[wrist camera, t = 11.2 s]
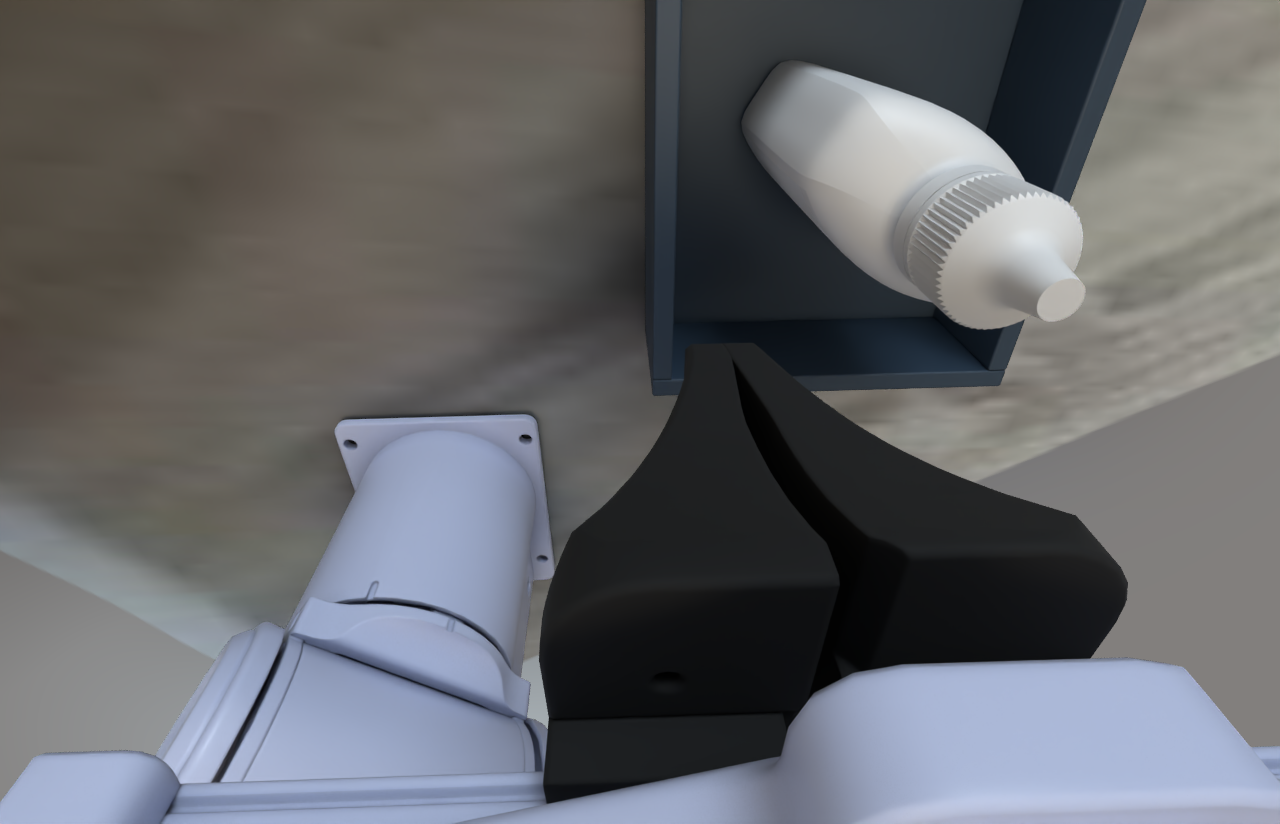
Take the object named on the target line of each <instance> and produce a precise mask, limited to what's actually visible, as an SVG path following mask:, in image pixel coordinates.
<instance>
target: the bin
mask: <svg viewBox="0 0 1280 824" xmlns="http://www.w3.org/2000/svg"><path fill="white" fill-rule="evenodd" d="M1145 3H1146V0H645V332H646V341H647V350H648V358H649V367H650V376H651V385H652V394H653V395H654V396H664V395H679V393H680V390H681V386H682V383H683V380H684V366H685V349H686V348H687V347H689V346H690V345H691V344H721V343H754V344H755V345H757V346H758V347H759V348H760V349H761V350H763V351H764V352H765V353H766V354H767V355H768V356H769V357H770V358H772V359H773V360H774V361H775V362H776V363H777V364H778V365H779V366H781V367H782V368H783V369H784V370H785V371H786V372H787V373H789V374H790V375H791V376H792V377H793V378H794V379H796V380H797V381H798V382H799V383H800V384H802V385H803V386H804V387H805V388H806V389H808V390H809V391H838V390H873V389H908V388H942V387H977V386H999V385H1000V383H1001V381H1002V378H1003V376H1004V373H1005V369H1006V368H1007V365H1008V362H1009V360H1010V357H1011V355H1012V352H1013V349H1014V347H1015V344H1016V341H1017V339H1018V336H1019V334H1020V331H1021V328H1022V326H1023V323H1024V320H1025V319H1024V320H1022V321H1020V322H1017V323H1015V324H1013V325H1009V326H1007V327H1005V326H1004V327H1001V328H995V329H986V330H983V329H978V330H977V329H976V328H972V329H971V328H970V327H964V326H963V325H959V324H958V323H957V322H954V321H953V320H952V319H950V318H949V317H947V316H946V315H945V314H944V313H943V312H942V311H941V310H940V309H939V308H938V307H937V306H936V305H935V304H934V303H933V302H928V301H924V300H920V299H917V298H914V297H911V296H908V295H905V294H902V293H900V292H898V291H895V290H893V289H891V288H889V287H887V286H885V285H884V284H882V283H880V282H879V281H877V280H875V279H874V278H872V277H871V276H869V275H868V274H866V273H865V272H864V271H863V270H861V269H860V268H859V267H857V266H856V265H855V264H854V263H853V262H852V261H851V260H850V259H848V258H847V257H846V256H845V255H844V254H843V253H842V252H841V251H840V250H839V249H838V248H837V247H836V246H835V245H834V244H833V243H832V242H831V240H830V239H829V238H828V237H827V236H826V235H825V234H824V233H823V232H822V231H821V230H820V229H819V228H818V227H817V226H816V225H815V223H814V222H813V221H812V220H811V219H810V218H809V217H808V216H807V215H806V214H805V213H804V212H803V211H802V209H801V208H800V207H799V206H798V205H797V204H796V203H795V202H794V201H793V200H792V199H791V198H790V196H789V195H788V194H787V193H786V192H785V191H784V190H783V189H782V188H781V187H780V186H779V184H778V183H777V182H776V181H775V180H774V179H773V178H772V177H771V176H770V175H769V173H768V172H767V171H766V170H765V169H764V167H763V166H762V165H761V163H760V162H759V161H758V159H757V158H756V156H755V155H754V153H753V152H752V150H751V148H750V147H749V145H748V143H747V141H746V139H745V137H744V134H743V132H742V124H741V121H742V118H743V115H744V112H745V110H746V109H747V107H748V106H749V104H750V102H751V101H752V99H753V98H754V96H755V95H756V93H757V92H758V90H759V89H760V87H761V86H762V84H763V83H764V81H765V80H766V78H767V77H768V75H769V74H770V73H771V71H772V70H773V69H774V68H775V67H776V66H777V65H779V64H780V63H781V62H784V61H789V60H796V61H803V62H808V63H812V64H816V65H819V66H822V67H826V68H829V69H832V70H835V71H838V72H841V73H845V74H848V75H851V76H854V77H857V78H860V79H863V80H866V81H870V82H873V83H876V84H879V85H882V86H885V87H888V88H891V89H894V90H897V91H900V92H903V93H906V94H909V95H911V96H914V97H917V98H920V99H923V100H925V101H928V102H931V103H933V104H935V105H937V106H940V107H942V108H944V109H946V110H949V111H951V112H953V113H955V114H956V115H958V116H960V117H962V118H964V119H965V120H967V121H968V122H970V123H971V124H973V125H974V126H976V127H977V128H979V129H980V130H982V131H983V132H984V133H985V134H987V135H988V136H989V137H990V138H991V139H993V140H994V141H995V142H996V143H997V144H998V145H999V146H1000V147H1001V148H1002V149H1003V150H1004V152H1005V153H1006V154H1007V155H1008V156H1009V158H1010V159H1011V160H1012V161H1013V162H1014V164H1015V165H1016V167H1017V168H1018V170H1019V171H1020V173H1021V175H1022V176H1023V178H1024V180H1025V182H1028V183H1030V184H1032V185H1035V186H1037V187H1039V188H1041V189H1044V190H1046V191H1048V192H1051V193H1053V194H1055V195H1057V196H1059V197H1061V198H1063V200H1065V201H1067V202H1068V203H1069V202H1070V200H1071V197H1072V195H1073V192H1074V189H1075V187H1076V184H1077V181H1078V179H1079V176H1080V174H1081V171H1082V168H1083V166H1084V163H1085V160H1086V158H1087V155H1088V153H1089V150H1090V147H1091V145H1092V142H1093V139H1094V137H1095V134H1096V132H1097V129H1098V126H1099V124H1100V121H1101V118H1102V116H1103V113H1104V111H1105V108H1106V105H1107V103H1108V100H1109V97H1110V95H1111V92H1112V90H1113V87H1114V84H1115V82H1116V79H1117V76H1118V74H1119V71H1120V69H1121V66H1122V63H1123V61H1124V58H1125V55H1126V53H1127V50H1128V48H1129V45H1130V42H1131V40H1132V37H1133V34H1134V32H1135V29H1136V27H1137V24H1138V21H1139V19H1140V16H1141V13H1142V11H1143V8H1144V6H1145Z"/></svg>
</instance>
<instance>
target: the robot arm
mask: <svg viewBox="0 0 1280 824" xmlns="http://www.w3.org/2000/svg"><path fill="white" fill-rule="evenodd" d="M334 432H335V437H336V439H337V442H338V445H339V448H340V451H341V453H342V456H343V459H344V462H345V465H346V468H347V470H348V473H349V476H350V479H351V482H352V484H353V487H354V490H355V494H354V496H353V498H352V500H351V502H350V504H349V506H348V508H347V509H346V511H345V513H344V515H343V517H342V519H341V521H340V523H339V525H338V527H337V529H336V531H335V533H334V535H333V537H332V539H331V541H330V543H329V545H328V547H327V549H326V551H325V553H324V555H323V557H322V559H321V561H320V563H319V565H318V566H317V568H316V570H315V572H314V574H313V576H312V578H311V580H310V582H309V584H308V586H307V588H306V590H305V592H304V594H303V596H302V598H301V600H300V602H299V604H298V606H297V608H296V610H295V612H294V614H293V616H292V618H291V620H290V621H289V623H288V625H287V627H286V628H285V629H283V628H281V627H279V626H277V625H275V624H273V623H270V622H263V623H261V624H259V625H258V626H257V627H256V628H255V629H254V630H252V629H251V630H248V631H245V632H243V633H240V634H237V635H235V636H233V637H232V638H231V639H230V640H229V641H228V642H227V644H226V645H225V646H224V648H223V649H222V651H221V652H220V654H219V655H218V657H217V658H216V660H215V661H214V663H213V664H212V666H211V667H210V669H209V670H208V672H207V673H206V675H205V676H204V678H203V680H202V681H201V682H200V684H199V686H198V687H197V689H196V690H195V692H194V693H193V695H192V697H191V699H190V700H189V701H188V703H187V705H186V706H185V708H184V709H183V711H182V712H181V714H180V716H179V717H178V719H177V721H176V722H175V724H174V725H173V727H172V729H171V730H170V732H169V733H168V735H167V737H166V738H165V740H164V742H163V743H162V745H161V746H160V749H159V750H158V751H157V753H156V755H155V756H154V755H150V754H147V753H144V752H140V751H128V750H119V751H90V752H59V753H44V754H41V755H38V756H35V757H34V758H33V759H32V761H31V762H30V763H29V765H28V766H27V767H26V769H25V770H24V771H23V773H22V774H21V775H20V777H19V778H18V779H17V781H16V782H15V783H14V785H13V786H12V787H11V789H10V790H9V791H8V792H7V794H6V795H5V796H4V798H3V799H2V800H1V802H0V824H1280V746H1268V747H1250V746H1249V745H1248V744H1247V742H1246V741H1245V740H1244V739H1243V738H1242V736H1241V735H1240V734H1239V733H1238V732H1237V730H1236V729H1235V728H1234V727H1233V725H1232V724H1231V723H1230V722H1229V721H1228V719H1227V718H1226V717H1225V716H1224V715H1223V713H1222V712H1221V711H1220V710H1219V708H1218V707H1217V706H1216V705H1215V704H1214V702H1213V701H1212V700H1211V699H1210V698H1209V696H1208V695H1207V694H1206V693H1205V692H1204V690H1203V689H1202V688H1201V687H1200V686H1199V684H1197V682H1196V681H1195V680H1194V679H1193V678H1192V677H1191V675H1190V674H1189V673H1188V672H1187V671H1186V669H1185V668H1184V667H1180V666H1176V665H1171V664H1167V663H1161V662H1154V661H1147V660H1141V659H1134V658H1127V657H1125V658H1092V659H1090V658H1091V657H1092V655H1093V654H1094V652H1095V651H1096V650H1097V648H1098V647H1099V645H1100V644H1101V642H1102V641H1103V640H1104V639H1105V637H1106V636H1107V634H1108V633H1109V631H1110V630H1111V629H1112V627H1113V626H1114V624H1115V623H1116V621H1117V619H1118V617H1119V615H1120V613H1121V612H1122V610H1123V607H1124V606H1125V603H1126V600H1127V588H1128V582H1127V580H1126V578H1125V575H1124V573H1123V571H1122V569H1121V567H1120V566H1119V565H1118V564H1117V562H1116V561H1115V560H1114V559H1113V558H1112V557H1111V556H1110V554H1109V553H1108V552H1107V551H1106V550H1105V549H1104V547H1103V546H1102V545H1101V544H1100V543H1099V542H1098V541H1097V539H1096V538H1095V537H1094V536H1093V535H1092V533H1091V532H1090V531H1089V530H1088V529H1087V528H1086V526H1085V525H1084V524H1083V523H1082V522H1081V521H1080V520H1079V519H1078V517H1077V516H1076V515H1072V514H1069V513H1066V512H1062V511H1059V510H1056V509H1053V508H1049V507H1046V506H1042V505H1039V504H1036V503H1033V502H1029V501H1026V500H1023V499H1020V498H1016V497H1013V496H1010V495H1006V494H1004V493H1001V492H998V491H995V490H993V489H990V488H987V487H985V486H982V485H979V484H977V483H974V482H971V481H969V480H966V479H963V478H961V477H958V476H956V475H954V474H951V473H949V472H947V471H944V470H942V469H939V468H937V467H935V466H933V465H931V464H929V463H926V462H924V461H922V460H920V459H918V458H916V457H914V456H912V455H910V454H908V453H905V452H903V451H902V450H900V449H898V448H896V447H894V446H892V445H890V444H888V443H886V442H885V441H883V440H881V439H880V438H878V437H876V436H875V435H873V434H871V433H869V432H868V431H866V430H864V429H863V428H861V427H859V426H858V425H856V424H855V423H853V422H851V421H850V420H848V419H847V418H845V417H844V416H843V415H841V414H840V413H838V412H837V411H836V410H834V409H833V408H831V407H830V406H829V405H827V404H826V403H824V402H823V401H822V400H820V399H819V398H818V397H817V396H815V395H814V394H813V393H811V392H810V391H809V390H808V389H806V388H805V387H804V386H803V385H802V384H800V383H799V382H798V381H797V380H796V379H794V378H793V377H792V376H791V375H790V374H789V373H787V372H786V371H785V370H784V369H783V368H782V367H781V366H779V365H778V364H777V363H776V362H775V361H774V360H773V359H772V358H770V357H769V356H768V355H767V354H766V353H765V352H764V351H763V350H761V349H760V348H759V347H758V346H757V345H755V344H754V343H721V344H691V345H690V346H689V347H687V348H686V349H685V366H684V380H683V383H682V386H681V390H680V393H679V396H678V399H677V401H676V403H675V406H674V408H673V410H672V412H671V415H670V417H669V419H668V421H667V423H666V425H665V427H664V429H663V431H662V433H661V435H660V436H659V438H658V440H657V441H656V443H655V445H654V446H653V448H652V449H651V451H650V452H649V454H648V455H647V456H646V458H645V459H644V461H643V462H642V464H641V465H640V466H639V468H638V469H637V470H636V471H635V473H634V474H633V475H632V476H631V478H630V479H629V480H628V481H627V482H626V483H625V484H624V485H623V486H622V487H621V488H620V489H619V491H618V492H617V493H616V494H615V495H614V496H613V497H612V498H611V499H610V500H609V501H608V502H607V503H606V504H605V505H604V506H603V507H602V508H601V509H600V510H598V511H597V512H596V513H595V514H594V515H592V516H591V517H590V518H589V519H588V520H586V521H585V522H584V523H583V524H582V525H580V526H579V527H578V528H577V529H576V530H574V531H573V532H572V533H571V536H570V538H569V540H568V542H567V544H566V547H565V549H564V551H563V553H562V556H561V558H560V560H559V563H558V565H557V568H556V571H555V563H554V555H553V546H552V538H551V530H550V522H549V514H548V506H547V497H546V489H545V481H544V473H543V465H542V457H541V448H540V440H539V432H538V424H537V421H536V420H535V419H534V418H533V417H532V416H530V415H525V414H519V415H486V416H452V417H418V418H384V419H350V420H342V421H341V422H339V423H338V425H337V426H336V428H335V430H334ZM524 434H527V435H529V436H531V438H529V439H524V438H523V437H521V435H524ZM348 440H353V441H355V442H356V444H352V443H350V442H349V441H348ZM539 555H545V556H544V557H543V556H539ZM552 577H553V579H552V582H551V585H550V588H549V591H548V595H547V599H546V602H545V607H544V611H543V617H542V626H541V637H540V652H539V662H540V668H541V673H542V680H543V685H544V691H545V697H546V703H547V709H548V715H549V723H548V729H547V728H546V727H545V726H544V725H543V724H542V723H540V722H538V721H537V720H533V719H530V718H527V712H528V704H529V695H530V686H531V684H530V682H529V681H527V680H525V679H523V678H521V672H522V664H523V656H524V648H525V640H526V633H527V625H528V617H529V609H530V601H531V593H532V585H533V580H546V579H550V578H552Z"/></svg>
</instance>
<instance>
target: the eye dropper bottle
mask: <svg viewBox="0 0 1280 824" xmlns="http://www.w3.org/2000/svg"><path fill="white" fill-rule="evenodd" d="M741 124H742V132H743V134H744V137H745V139H746V141H747V143H748V145H749V147H750V148H751V150H752V152H753V153H754V155H755V156H756V158H757V159H758V161H759V162H760V163H761V165H762V166H763V167H764V169H765V170H766V171H767V172H768V173H769V175H770V176H771V177H772V178H773V179H774V180H775V181H776V182H777V183H778V184H779V186H780V187H781V188H782V189H783V190H784V191H785V192H786V193H787V194H788V195H789V196H790V198H791V199H792V200H793V201H794V202H795V203H796V204H797V205H798V206H799V207H800V208H801V209H802V211H803V212H804V213H805V214H806V215H807V216H808V217H809V218H810V219H811V220H812V221H813V222H814V223H815V225H816V226H817V227H818V228H819V229H820V230H821V231H822V232H823V233H824V234H825V235H826V236H827V237H828V238H829V239H830V240H831V242H832V243H833V244H834V245H835V246H836V247H837V248H838V249H839V250H840V251H841V252H842V253H843V254H844V255H845V256H846V257H847V258H848V259H850V260H851V261H852V262H853V263H854V264H855V265H856V266H857V267H859V268H860V269H861V270H863V271H864V272H865V273H866V274H868V275H869V276H871V277H872V278H874V279H875V280H877V281H879V282H880V283H882V284H884V285H885V286H887V287H889V288H891V289H893V290H895V291H898V292H900V293H902V294H905V295H908V296H911V297H914V298H917V299H920V300H924V301H928V302H933V303H934V304H935V305H936V306H937V307H938V308H939V309H940V310H941V311H942V312H943V313H944V314H945V315H946V316H947V317H949V318H950V319H952V320H953V321H954V322H957V323H958V324H959V325H963V326H964V327H970V328H971V329H972V328H976V329H977V330H978V329H983V330H986V329H995V328H1001V327H1004V326H1005V327H1007V326H1009V325H1013V324H1015V323H1017V322H1020V321H1022V320H1024V319H1026V318H1028V317H1030V316H1035V317H1037V318H1040V319H1042V320H1045V321H1050V322H1054V321H1059V320H1062V319H1065V318H1067V317H1069V316H1070V315H1072V314H1073V313H1074V312H1075V311H1076V310H1077V309H1078V308H1079V307H1080V306H1081V304H1082V302H1083V300H1084V298H1085V294H1086V290H1085V286H1084V284H1083V283H1082V282H1081V281H1080V279H1079V278H1078V277H1077V276H1076V275H1075V274H1074V271H1075V269H1076V267H1077V264H1078V262H1079V259H1080V255H1081V252H1082V246H1083V243H1082V242H1083V238H1084V237H1083V236H1082V235H1083V230H1082V223H1080V217H1078V216H1077V211H1074V210H1073V206H1071V205H1069V203H1068V202H1067V201H1065V200H1063V198H1061V197H1059V196H1057V195H1055V194H1053V193H1051V192H1048V191H1046V190H1044V189H1041V188H1039V187H1037V186H1035V185H1032V184H1030V183H1028V182H1025V180H1024V178H1023V176H1022V175H1021V173H1020V171H1019V170H1018V168H1017V167H1016V165H1015V164H1014V162H1013V161H1012V160H1011V159H1010V158H1009V156H1008V155H1007V154H1006V153H1005V152H1004V150H1003V149H1002V148H1001V147H1000V146H999V145H998V144H997V143H996V142H995V141H994V140H993V139H991V138H990V137H989V136H988V135H987V134H985V133H984V132H983V131H982V130H980V129H979V128H977V127H976V126H974V125H973V124H971V123H970V122H968V121H967V120H965V119H964V118H962V117H960V116H958V115H956V114H955V113H953V112H951V111H949V110H946V109H944V108H942V107H940V106H937V105H935V104H933V103H931V102H928V101H925V100H923V99H920V98H917V97H914V96H911V95H909V94H906V93H903V92H900V91H897V90H894V89H891V88H888V87H885V86H882V85H879V84H876V83H873V82H870V81H866V80H863V79H860V78H857V77H854V76H851V75H848V74H845V73H841V72H838V71H835V70H832V69H829V68H826V67H822V66H819V65H816V64H812V63H808V62H803V61H796V60H789V61H784V62H781V63H780V64H779V65H777V66H776V67H775V68H774V69H773V70H772V71H771V73H770V74H769V75H768V77H767V78H766V80H765V81H764V83H763V84H762V86H761V87H760V89H759V90H758V92H757V93H756V95H755V96H754V98H753V99H752V101H751V102H750V104H749V106H748V107H747V109H746V110H745V112H744V115H743V118H742V121H741Z"/></svg>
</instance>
